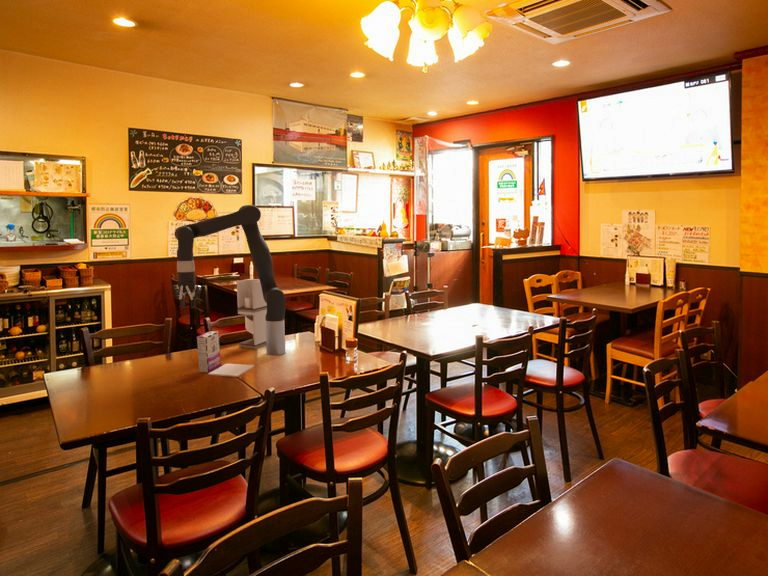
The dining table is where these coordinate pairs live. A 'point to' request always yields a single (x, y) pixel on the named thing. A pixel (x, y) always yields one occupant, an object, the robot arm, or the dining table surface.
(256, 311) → the display case
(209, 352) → the candy bar box
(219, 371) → the mat
